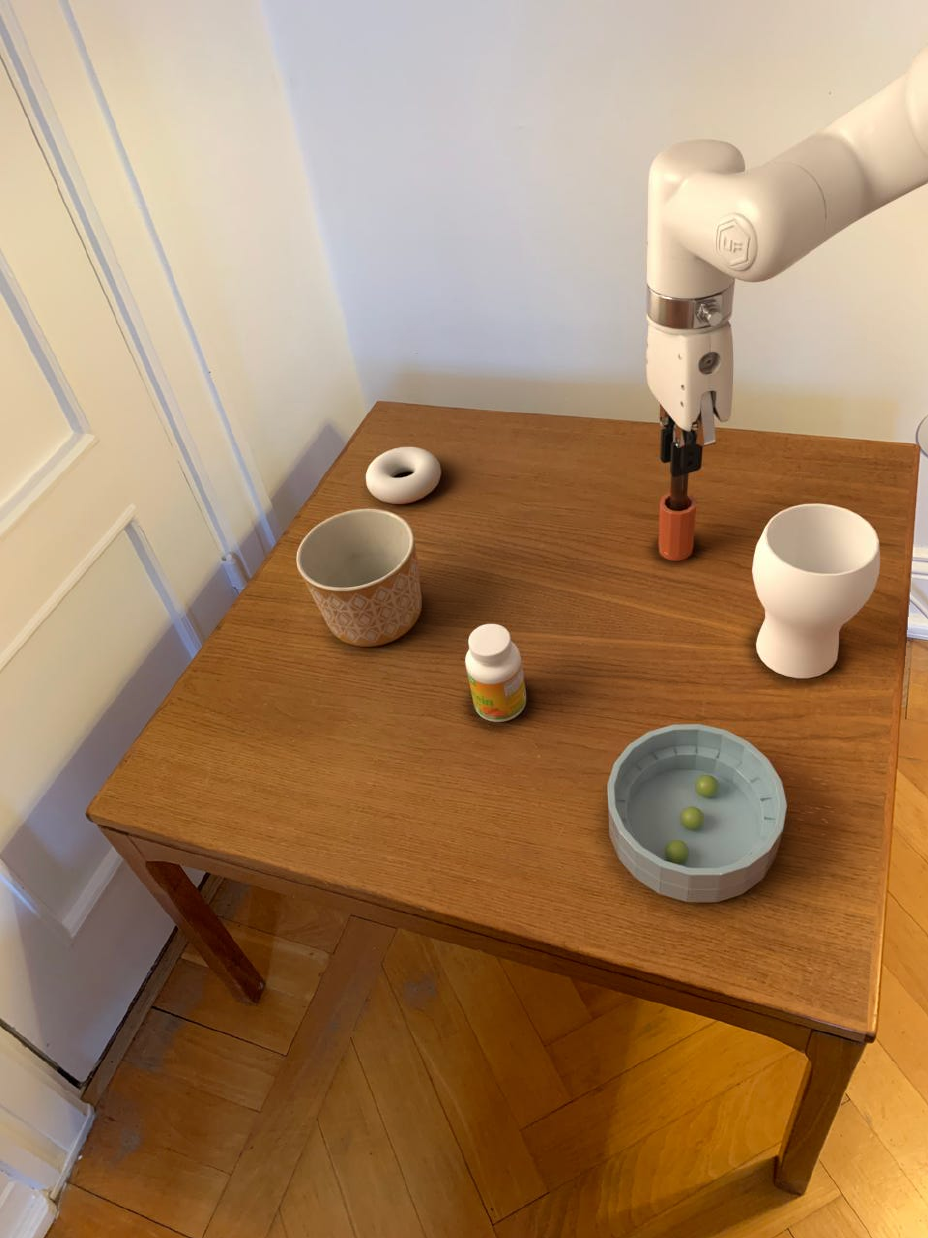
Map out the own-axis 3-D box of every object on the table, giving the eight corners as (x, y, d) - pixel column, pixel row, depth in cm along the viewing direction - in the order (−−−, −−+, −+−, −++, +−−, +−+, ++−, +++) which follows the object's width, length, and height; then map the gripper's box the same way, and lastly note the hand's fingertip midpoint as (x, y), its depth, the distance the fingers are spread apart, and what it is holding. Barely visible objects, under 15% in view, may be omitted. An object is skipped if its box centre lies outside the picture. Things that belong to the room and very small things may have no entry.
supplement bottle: (463, 705, 87) (448, 642, 80) (499, 672, 90) (488, 609, 82) (501, 733, 84) (489, 670, 77) (537, 699, 87) (529, 635, 79)
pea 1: (682, 844, 73) (683, 832, 72) (692, 865, 72) (694, 853, 70) (660, 851, 73) (661, 839, 72) (670, 872, 72) (671, 860, 70)
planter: (446, 584, 100) (431, 515, 92) (405, 666, 92) (385, 598, 84) (349, 568, 104) (328, 501, 96) (302, 646, 96) (275, 579, 89)
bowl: (730, 741, 80) (736, 705, 76) (809, 876, 70) (820, 844, 66) (586, 784, 79) (584, 750, 75) (646, 927, 69) (647, 897, 65)
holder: (684, 534, 100) (687, 487, 95) (698, 555, 97) (702, 508, 92) (653, 543, 99) (654, 496, 94) (666, 564, 97) (668, 517, 92)
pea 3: (711, 779, 77) (713, 767, 75) (721, 798, 76) (723, 786, 74) (690, 786, 77) (692, 774, 75) (700, 804, 75) (702, 792, 74)
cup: (739, 684, 84) (756, 576, 73) (742, 606, 91) (758, 496, 80) (856, 696, 81) (891, 584, 71) (850, 614, 88) (881, 501, 77)
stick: (680, 537, 98) (687, 413, 86) (686, 547, 97) (695, 422, 85) (665, 541, 98) (670, 417, 86) (671, 551, 97) (678, 427, 85)
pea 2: (697, 811, 75) (699, 799, 74) (707, 830, 74) (709, 819, 72) (676, 817, 75) (677, 806, 73) (685, 837, 74) (686, 825, 72)
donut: (457, 475, 114) (400, 453, 118) (454, 454, 111) (396, 432, 116) (410, 519, 109) (353, 494, 114) (405, 498, 106) (347, 474, 111)
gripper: (772, 328, 71) (749, 500, 84) (691, 253, 82) (682, 416, 95) (687, 350, 71) (677, 520, 84) (617, 272, 81) (618, 433, 95)
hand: (680, 464), depth 89 cm, fingers closed on stick, 1 cm apart
